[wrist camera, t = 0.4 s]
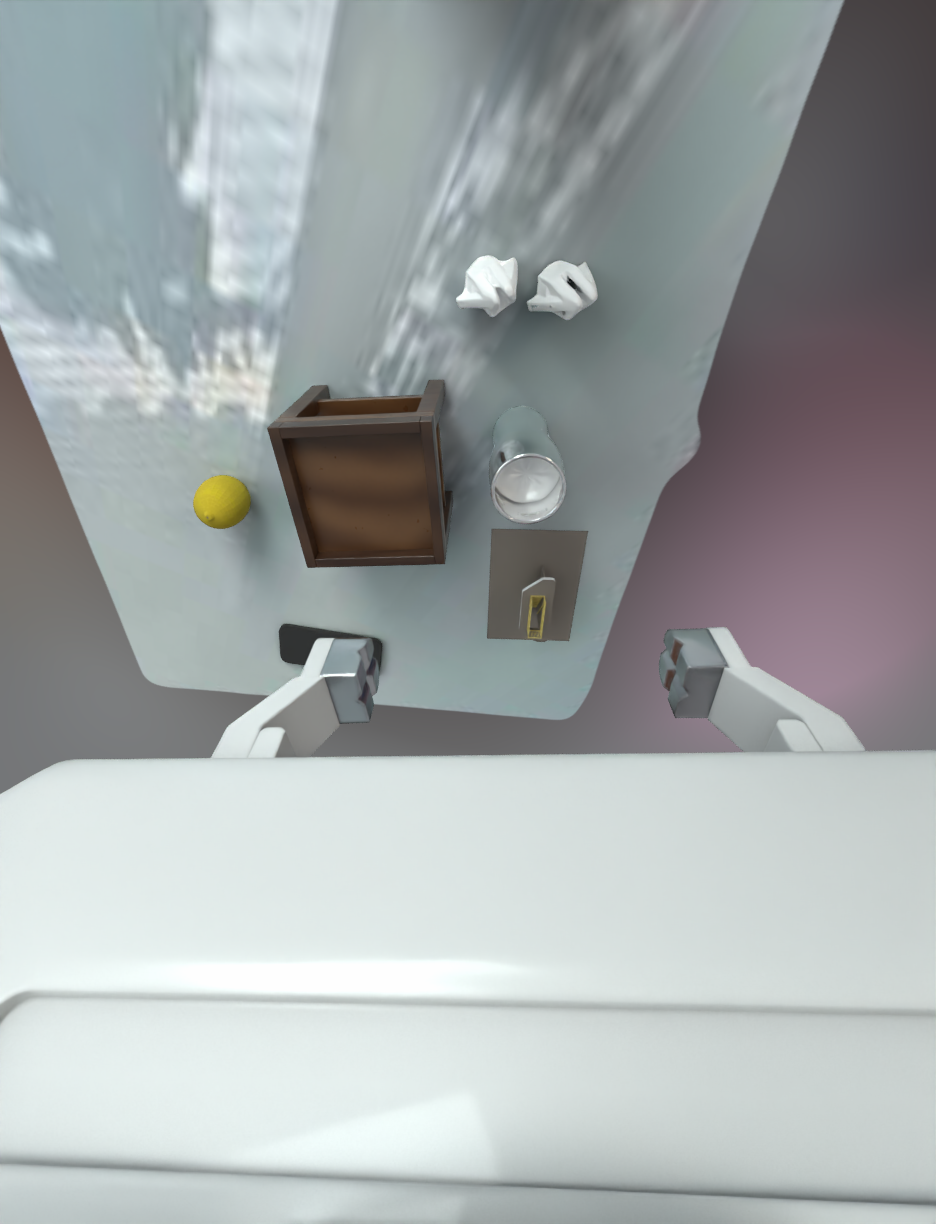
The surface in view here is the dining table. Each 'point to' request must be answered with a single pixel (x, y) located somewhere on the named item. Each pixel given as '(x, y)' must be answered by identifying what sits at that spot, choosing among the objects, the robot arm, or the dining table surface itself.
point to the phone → (311, 642)
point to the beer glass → (525, 467)
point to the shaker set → (498, 280)
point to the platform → (534, 583)
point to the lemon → (221, 502)
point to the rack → (365, 478)
